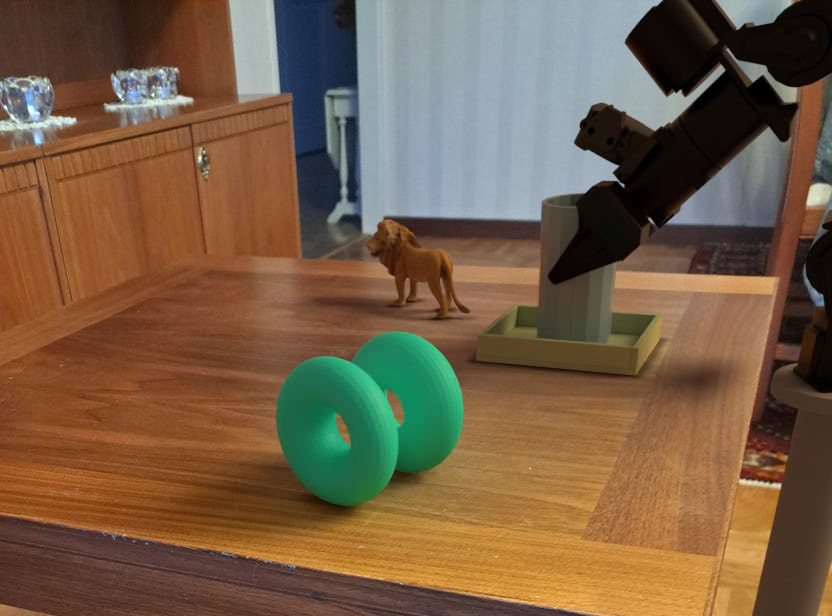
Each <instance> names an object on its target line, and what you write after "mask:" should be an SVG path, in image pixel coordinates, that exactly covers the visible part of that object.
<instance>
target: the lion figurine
mask: <svg viewBox="0 0 832 616" xmlns="http://www.w3.org/2000/svg"><path fill="white" fill-rule="evenodd" d="M376 228H377V230H376V231H375V232H374V233H373V236H372V237H371V239H370V240H369V241H367V242H366V243H365V246H366V248H367V250H368V251H369V252H370V257H371V258H372V259H378V262H380V264H381V265H382V266H383V267H385V268H386V269H387V273H388V274H389V275H390V276H392V277H394V283H395V288H396V291H397V295H398V298H397V299H394V300H393V301H392V304H393V306H394V307H400V306H405V304H406V301H407V302H416V301H417V300H418V297H419V296H418V295H419V283H422V284H423V283H427V285H428V288H429V290H430V292H431V294H432V295H433V297H434V298H435V299H436V301H437V303H438V305H439V307H440V310H438V311H437V312H436V318H438V319H444V318H447V317H448V316H449V315H448V314H449V310H452V308H453V303H454V304H455V306H456V307H457V309H458V310H459V311H460V312H461V313H462V314H470V313H471V309H469V308H468V307H467V306H465V305H463V304H462V303H461V301H460V300H459V298H458V297H457V293H456V289H455V284H454V279H453V273H454V265H453V264H454V263H453V259H452V257H451V255H450V254H449V253H448V252H447V250H444V249H442V248H433V249H427V248H424V247H422V246H421V245H420V243H419V241H418V238H417V236H416V235H415V234H414V232H412V231H409V228H408V227H406V225H403V224H401V223H399V222H398V221H394V220H392V219H384V220H381V221H379V222H378V223H377V224H376ZM407 279H408V280H409V293H408V296H407V295H406V288H405V286H406V281H407ZM441 283H442V285H441ZM442 286H443V288H444V292H443V289H442ZM444 293H445V294H444ZM406 296H407V297H406Z"/></svg>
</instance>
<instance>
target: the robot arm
mask: <svg viewBox="0 0 832 616" xmlns="http://www.w3.org/2000/svg"><path fill="white" fill-rule="evenodd" d="M624 45H625V46H626V47H627V49H628V50H629V51H630V52H631V54H632V55H633V56H634V58H635V59H636V60H637V62H639V64H640V65H641V66H642V68H643V69H644V70H645V71H646V73H647V74H648V75H649V77H650V78H651V80H652V81H653V82H654V83H655V85H656V86H657V87H658V88H659V90H660V91H661V92H662V94H663V95H664V96H665V97H666V98H668V97H669V96H672V95H673V94H674V93H675V94H678V93H679V92H680V91H681V92H680V93H681V94H682V96H683V97H684V98H687V97H689V96H690V95H691V94H692V93H693V92H694V91H696V90H697V89H698V88H699V87H700V86H701V85H702V84H703V83H704V82H705V81H706V80H708V78H710V77H711V76H712V74H714V73H715V71H716V70H717V69H719V67H720V66H722V68H723V69H724V71H723V72H722V73H721V74H720V75H719V76H718V77H717V78H716V79H715V80H714V81H712V83H711V84H710V85H709V86H708V87H706V88H705V90H704V91H703V92H702V93H701V94H700V95H698V97H696V98H695V99H694V101H692V102H691V103H690V104H689V105H688V106H687V107H686V108H685V109H684V110H683V111H682V112H681V113H680V114H679V115H678V116H676V118H675V119H674V120H673V121H672V122H667V123H666V124H665V125H664V126H663V125H661V126H659V127H658V128H657V129H656V130H654V129H653V128H651V127H649V126H647V125H646V124H645V123H643V122H642V121H639V120H638V119H636V118H634V117H632V116H631V115H629V114H627V112H626V111H625V110H623V111H622V110H619V109H617V108H616V107H615V105H614V104H612V103H611V104H608V103H605V102H598V103H595V104H592V105H591V106H590V108H589V110H588V112H587V114H586V116H585V117H584V118H583V119H581V121H580V122H579V130H578V133H577V134H576V136H575V139H574V140H573V144H574V145H575V146H576V147H577V148H579V149H580V150H582V151H584V152H587V151H589V152H591V153H592V154H594V155H597V156H598V157H600V158H602V159H604V160H605V161H607V162H609V163H611V164H613V165H615V166H617V167H616V169H615V170H613V171H612V174H613V175H614V177H615V178H616V180H601V181H599V182H597V183H595V184H593V185H592V186H591V187H590V188H588V190H587V191H585V192H584V193H585V194H584V195H583V196H582V197H581V198H580V199H579V200H578V201H577V202H576V203H575V205H576V207H577V213H578V215H579V228H578V231H577V233H576V234H575V236H574V237H573V239H572V240H571V242H570V243H569V245H568V246H567V248H566V249H565V251H564V252H563V253H562V255H561V256H560V258H559V259H558V261H557V262H556V264H555V265H554V267H553V268H552V270H551V271H550V272H549V274H548V279H549V280H550V281H551V283H552V284H553V285H556V284H559V283H562V282H564V281H567V280H569V279H572V278H575V277H577V276H580V275H582V274H585V273H588V272H591V271H593V270H596V269H599V268H601V267H604V266H607V265H609V264H612V263H615V262H617V263H619V262H623V261H625V260H626V259H627V258H628V257H630V255H631V254H632V253H634V252H635V251H636V250H637V249H638V248H639V247H640V246H642V245H643V244H644V243H645V242H646V241H647V240H649V238H650V237H651V236H653V234H655V233H656V232H657V230H656V227H657V228H658V229H659V230H661V229H662V228H663V227H664V226H665V225H666V224H667V223H669V222H670V220H672V219H673V218H674V217H675V216H676V215H678V213H680V212H681V209H682V206H683V205H684V204H685V203H686V202H687V201H689V199H690V198H692V197H693V196H694V195H695V194H696V193H697V192H698V191H700V189H702V188H703V187H704V186H705V185H706V184H707V183H709V182H710V181H711V180H712V179H713V178H714V177H716V175H718V174H719V172H721V171H722V170H723V169H724V168H725V167H726V166H728V164H729V163H731V162H732V161H733V160H734V159H735V158H736V157H737V156H738V155H739V154H740V153H742V152H743V151H744V150H745V149H746V148H747V147H749V146H750V145H751V144H752V143H753V142H754V141H755V140H756V139H757V138H758V137H760V136H761V135H762V134H763V133H764V132H765V131H766V130H767V129H768V128H769V129H770V130H771V131H772V132H773V134H774V135H775V137H776V138H777V139H778V141H779V142H781V143H787V142H788V141H789V140H790V139H791V138H792V137H793V135H794V133H795V122H796V117H797V115H798V112H799V110H800V109H801V106H802V103H801V102H800V101H798V100H797V101H790V102H789V101H788V102H787V101H784V99H783V98H782V97H781V96H780V94H779V93H778V92H777V90H776V89H775V87H774V86H773V85H772V84H771V83H770V81H769V80H768V79H767V77H766V75H764V74H762V75H760V76H759V77H757V79H755V80H754V81H752V79H751V78H750V77H749V76H748V75H747V74H746V73H745V72H744V70H743V69H742V68H741V67H740V65H739V64H738V63H737V61H739V62H744V63H748V64H749V63H750V64H754V65H760V66H765V67H766V69H767V72H768V74H769V75H770V77H772V79H774V81H775V82H777V83H779V84H781V85H783V86H785V87H788V88H797V89H798V88H801V87H806V86H810V85H813V84H815V83H817V82H819V81H821V80H822V79H824V78H826V77H827V76H829V75H831V74H832V0H798V1H795V2H793V3H792V4H790V5H789V6H787V7H786V8H784V9H783V10H782V11H781V12H780V13H779V14H778V15H776V18H775V19H774V20H773V22H769V23H763V24H758V25H755V22H753V21H752V22H751V21H750V22H744V23H743V24H742V25H741V26H740V27H739V28H737V26H736V25H735V23H734V22H733V21H732V19H731V18H730V17H729V16H728V15H727V13H726V12H725V11H724V9H723V8H722V7H721V5H720V4H719V2H718V1H717V0H661V1H660V2H659V3H658V4H657V5H653V6H652V7H651V8H650V9H649V10H648V11H646V13H645V14H644V15H643V16H642V17H641V18H640V20H639V21H638V22H637V23H636V24H635V26H633V28H632V29H631V31H630V32H629V33H628V35H627V37H626V38H625V39H624ZM728 50H729V51H730V52H729V51H728ZM730 53H731V54H732V55H731V54H730ZM733 57H734V58H735V59H734V58H733ZM736 60H737V61H736ZM651 221H652V222H651ZM655 226H656V227H655ZM804 267H805V277H806V279H807V281H808V283H809V285H810V287H811V288H813V289H814V290H815V291H816V292H817V293H818V294H820V295H822V300H823V305H820V306H818V305H817V306H815V307H814V311H813V317H812V320H811V324H808V325H806V326H805V328H804V331H803V335H802V336H803V337H802V340H801V341H802V342H801V346H800V350H799V354H798V360H797V363H798V364H797V366H794V367H793V372H794V373H795V374H796V375H798V376H799V377H800V378H802V379H803V380H804V381H805V382H807V383H808V384H809V385H810V386H812V387H813V388H814V389H816V390H817V391H818V392H821V393H832V209H830V210H828V211H827V212H826V215H825V217H824V220H823V222H822V224H821V228H820V229H819V230H818V232H817V233H816V235H815V236H814V239H813V241H812V244H811V246H810V248H809V250H808V253H807V256H806V260H805V264H804Z"/></svg>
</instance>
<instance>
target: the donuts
mask: <svg viewBox="0 0 832 616" xmlns="http://www.w3.org/2000/svg"><path fill="white" fill-rule="evenodd" d="M442 353H443V352H441V351H440V350H439V349H438V348H437V347H435V345H434V344H432V343H431V342H429V341H428V340H426V339H424V338H423V337H421V336H419V335H416V334H414V333H411V332H406V331H399V330H398V331H396V330H395V331H394V330H393V331H386V332H383V333H380V334H377V335H374V336H373V337H372V338H370V339H369V340H368V341H366V342H365V343H363V344H362V345H361V346H360V348H359V349H358V350H357V352H356V353H355V354H354V356H353V357H352V359H351V361H349V360H346V359H343V358H340V357H336V356H328V355H324V356H323V355H322V356H316V357H312V358H309V359H307V360H303V361H302V362H301V363H299V364H298V365H296V366H295V368H293V369H292V370H291V371H290V372H289V373H288V375H287V376H286V378H285V379H284V381H283V382H282V385H281V387H280V389H279V392H278V396H277V400H276V407H275V425H276V433H277V438H278V442H279V445H280V449H281V451H282V454H283V455H284V456H283V457H284V459H285V461H286V462H287V465H288V466H289V468H290V470H291V471H292V472H293V474H294V475H295V476H296V478H297V479H298V481H300V483H301V484H302V485H303V486H304V487H305V488H306V489H307V490H309V491H310V492H311V493H312V494H313V495H314V496H316V497H318V498H319V499H321V500H322V501H325V502H326V503H329V504H332V505H337V506H341V507H342V506H343V507H353V506H358V505H363V504H365V503H367V502H369V501H371V500H373V499H375V498H376V497H377V496H378V495H380V493H381V492H383V491H384V489H385V488H386V486H387V485H388V484H389V482H390V480H391V479H392V476H393V474H394V472H395V471H396V472H400V473H405V474H419V473H424V472H428V471H429V470H430V471H431V470H432V469H434V468H436V467H438V466H439V465H441V464H442V463H443V462H444V461H446V459H447V458H448V457H449V456H450V455H451V454H452V453H453V451H454V449H455V448H456V446H457V444H458V442H459V438H460V436H461V433H462V430H463V423H464V414H465V413H464V412H465V411H464V408H465V407H464V399H463V394H462V389H461V386H460V383H459V380H458V377H457V375H456V373H455V371H454V369H453V367H452V365H451V364H450V362H449V361H448V360H447V358H446V357H445V356H444V355H443V354H442ZM388 391H390V392H391V393H392V394H393V395H394V396H395V397H396V398H397V400H398V402H400V405H401V407H402V412H403V413H402V414H403V421H402V424H400V423H399V422H398V421H397V419H396V418H395V415H394V412H393V410H392V407H391V405H390V403H389V401H388ZM337 414H338V415H339V417H340V419H341V420H342V421H343V424H344V426H345V428H346V430H347V433H348V436H349V441H350V442H349V443H350V444H349V443H347V442H346V441H345V440H344V438H343V436H342V435H341V433H340V430H339V428H338V425H337Z"/></svg>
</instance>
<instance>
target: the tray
mask: <svg viewBox="0 0 832 616" xmlns="http://www.w3.org/2000/svg"><path fill="white" fill-rule="evenodd" d="M663 317H664V314H662V313H649V312H637V311H634V312H633V311H619V310H613V311H612V323H611V335H610V339H609V344H604V343H591V342H579V341H567V340H555V339H543V338H536V328H537V305H536V304H535V305H533V304H519V303H515V304H513V305H511V307H509V308H508V309H507V310H506V311H504V312H503V313H502V314H501V315H499V316H498V317H497V318H496V319H495V320H493V321H492V322H491V323H490V324H488V325H487V326H486V327H485V328H484V329H482V330H481V331H480V332H478V334H477V335H476V356H475V360H476V362H484V363H485V362H487V363H496V364H506V365H507V364H508V365H519V366H527V367H529V366H530V367H538V368H539V367H540V368H550V369H561V370H571V371H572V370H573V371H580V372H581V371H582V372H593V373H601V374H603V373H604V374H613V375H625V376H634V377H635V376H637V374H638V373H639V371H640V370H641V368H642V366H643V365H644V363H645V362H646V361H647V359H648V357H649V356H650V355H651V353H652V351H653V350H654V349H655V347H656V345H657V344H658V342H659V341H660V339H661V331H662V324H663Z"/></svg>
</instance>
